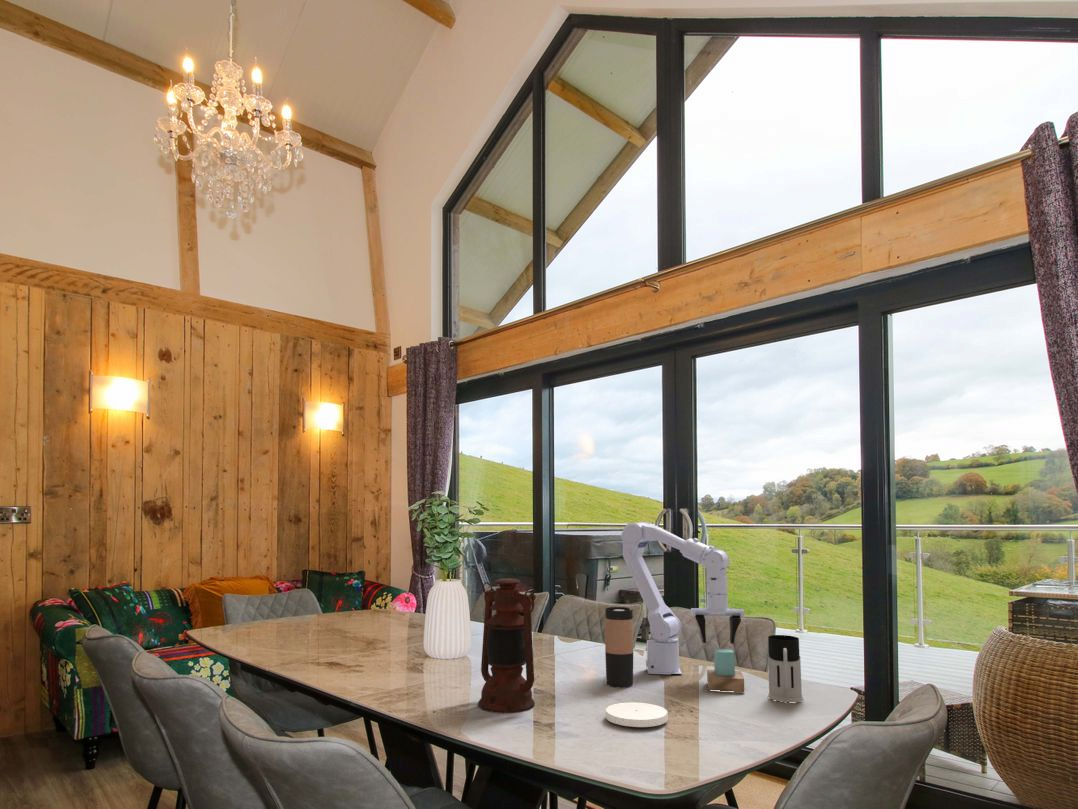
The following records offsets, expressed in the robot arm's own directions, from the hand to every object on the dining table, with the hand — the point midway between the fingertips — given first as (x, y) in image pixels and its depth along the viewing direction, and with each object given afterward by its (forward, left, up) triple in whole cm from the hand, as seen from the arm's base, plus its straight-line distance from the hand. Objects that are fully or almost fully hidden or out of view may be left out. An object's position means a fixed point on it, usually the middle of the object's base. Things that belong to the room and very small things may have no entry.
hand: (718, 642), depth 209 cm
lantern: (-56, -32, -10) cm, 65 cm away
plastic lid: (-25, -42, -10) cm, 50 cm away
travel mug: (-28, -9, -10) cm, 31 cm away
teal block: (0, -10, -6) cm, 11 cm away
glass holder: (+13, -22, -10) cm, 27 cm away
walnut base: (0, -10, -10) cm, 14 cm away
